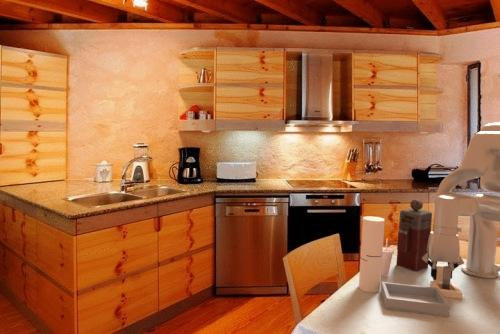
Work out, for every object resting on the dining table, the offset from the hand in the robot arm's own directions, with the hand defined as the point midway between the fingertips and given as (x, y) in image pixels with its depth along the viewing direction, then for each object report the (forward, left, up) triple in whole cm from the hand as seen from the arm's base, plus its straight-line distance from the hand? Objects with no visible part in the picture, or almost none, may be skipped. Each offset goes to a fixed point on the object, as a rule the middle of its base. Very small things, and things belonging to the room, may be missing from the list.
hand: (440, 278), depth 134 cm
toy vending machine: (+7, -17, -3) cm, 18 cm away
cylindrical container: (+26, +10, -2) cm, 28 cm away
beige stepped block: (0, +4, -2) cm, 5 cm away
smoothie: (+19, -6, -3) cm, 20 cm away
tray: (+13, +18, -2) cm, 23 cm away
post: (0, +6, -2) cm, 7 cm away
